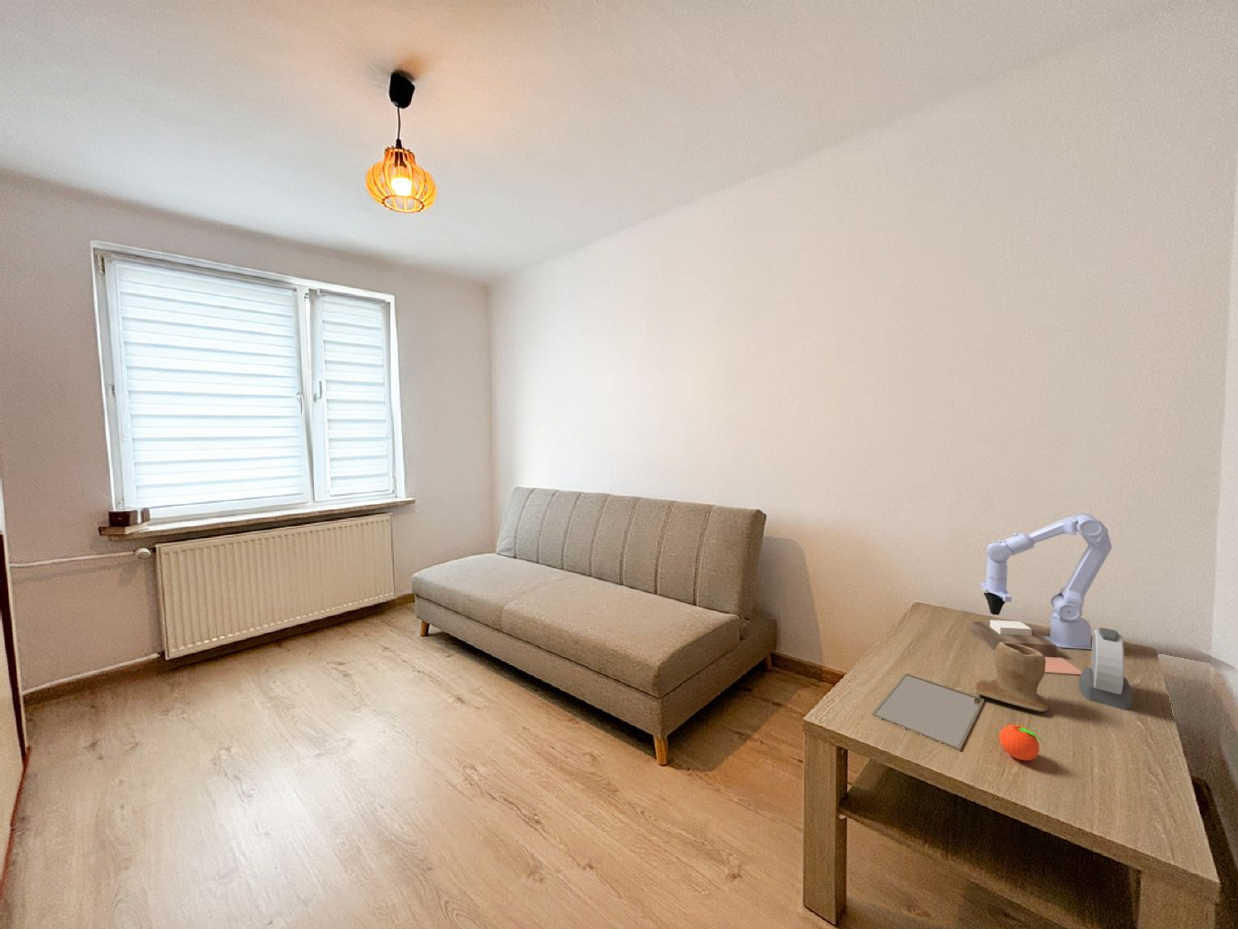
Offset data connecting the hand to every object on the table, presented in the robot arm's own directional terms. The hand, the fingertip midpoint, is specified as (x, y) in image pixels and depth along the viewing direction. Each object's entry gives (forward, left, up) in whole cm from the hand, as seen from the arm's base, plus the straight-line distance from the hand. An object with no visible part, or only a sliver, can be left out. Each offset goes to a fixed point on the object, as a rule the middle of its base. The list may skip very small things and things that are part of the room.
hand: (994, 614), depth 167 cm
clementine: (+30, +70, -7) cm, 76 cm away
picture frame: (+42, +53, -7) cm, 68 cm away
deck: (0, +10, -6) cm, 12 cm away
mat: (0, +24, -6) cm, 25 cm away
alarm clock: (-7, +39, -7) cm, 40 cm away
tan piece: (+19, +45, -7) cm, 49 cm away
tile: (0, +9, -2) cm, 9 cm away
